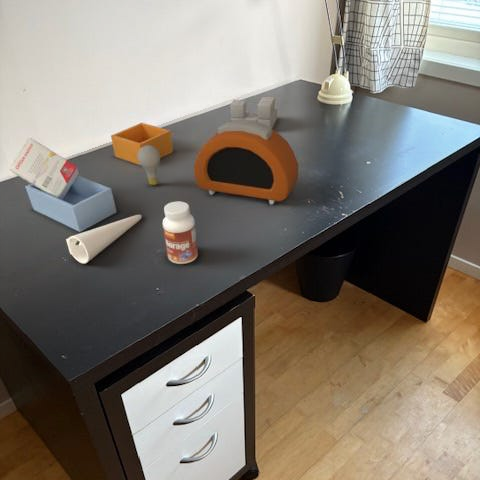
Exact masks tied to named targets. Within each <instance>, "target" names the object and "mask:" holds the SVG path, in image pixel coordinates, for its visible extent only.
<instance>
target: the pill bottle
mask: <svg viewBox="0 0 480 480" xmlns="http://www.w3.org/2000/svg"><path fill="white" fill-rule="evenodd" d="M163 210H164V216H165V217H164V218H163V219H162V230H163V236H164V242H165V249H166V255H167V259H168V260H169V261H170V262H171V263H173V264H175V265H176V264H177V265H184V264H189V263H192V262H194V261H195V260H196V259H197V257H198V256H199V255H198V254H199V252H198V251H199V250H198V240H197V233H196V232H197V231H196V221H195V218H194V216H193V215H192V214H191V211H190V206H189V204H188V203H187V202H184V201H179V200H177V201H171V202H168V203H167V204H166V205H164V208H163Z"/></svg>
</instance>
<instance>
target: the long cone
mask: <svg viewBox="0 0 480 480" xmlns="http://www.w3.org/2000/svg"><path fill="white" fill-rule="evenodd" d="M142 218H143V217H142V214H135V215H132V216H129V217H126V218H123V219H120V220H117V221H114V222H110V223H107V224H105V225H101V226H99V227H96V228H95V227H94V228H93V229H90V230H86V231H82V232H79V233H77V234H74V235H71V236H69V237H68V238H66V239H65V240H66V245H67V248H68V251H69V254H70V255H72V257H73V258H74V259H75V260H76V261H77V262H79V263H80V264H87V263H88V262H90V261H91V260H93V258H95V257H96V256H97V255H99V253H101V252H102V251H104V250H105V249H106V248H107V247H109V246H110V245H111V244H112V243H113V242H115V241H116V240H117V239H118V238H120V237H121V236H122V235H124V234H125V233H126V232H127V231H128V230H130V229H131V228H132V227H134V225H136V224H137V223H138V222H140V220H142ZM77 242H79V244H77Z"/></svg>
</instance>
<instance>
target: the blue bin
mask: <svg viewBox="0 0 480 480" xmlns="http://www.w3.org/2000/svg"><path fill="white" fill-rule="evenodd" d="M24 187H25V190H26V193H27V196H28V198H29V201H30V203H31V207H32V209H33V210H34V211H35V212H37V213H39V214H41V215H44V216H45V217H48V218H50V219H52V220H54V221H56V222H59V223H61V224H62V225H64V226H66V227H68V228H71V229H73V230H74V231H77V232H79V233H82V232H84V231H85V230H86V229H88V228H91V227H92V226H94V225H96V224H98V223H100V222H101V221H103V220H105V219H107V218H108V217H110V216H112V215H114V214H116V213H117V209H116V208H117V207H116V204H115V200H114V199H115V198H114V194H113V191H112V188H111V187H109V186H106V185H103V184H100V183H99V182H96V181H93V180H90V179H89V178H87V177H83V176H80V175H78V176H77V178H76V179H75V181H74V182H73V184H72V186H71V187H70V189H69V190H68V192H67V193H66V195H65V196H64V198H63V200H60V199H58V198H56V197H54V196H51V195H49V194H47V193H45V192H43V191H42V190H40V189H39V188H37V187H35V186H34V185H32V184H30V183H29V184H27V185H25V186H24Z"/></svg>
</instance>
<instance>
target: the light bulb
mask: <svg viewBox="0 0 480 480" xmlns="http://www.w3.org/2000/svg"><path fill="white" fill-rule="evenodd" d="M137 157H138V162H139V164H140V165H139V166H141V168H142V169H143V170H144V171H145V172H146V175H147V176H146V177H147V179H148V184H149V185H151V186H155V185H157V184H158V177H157V175H158V174H157V170H158V167H159V165H160V163H161V158H160V153H159V151H158V150H157V149H156V148H155V147H153V146H151V145H146V146H143V147H142V148H140V150H139V151H138V155H137Z"/></svg>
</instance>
